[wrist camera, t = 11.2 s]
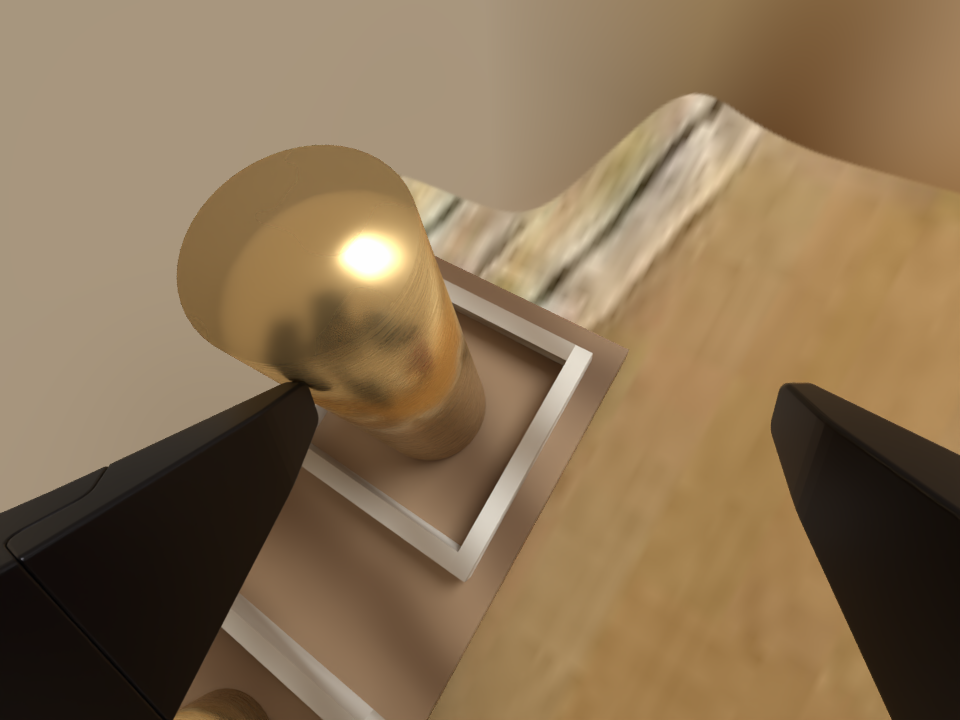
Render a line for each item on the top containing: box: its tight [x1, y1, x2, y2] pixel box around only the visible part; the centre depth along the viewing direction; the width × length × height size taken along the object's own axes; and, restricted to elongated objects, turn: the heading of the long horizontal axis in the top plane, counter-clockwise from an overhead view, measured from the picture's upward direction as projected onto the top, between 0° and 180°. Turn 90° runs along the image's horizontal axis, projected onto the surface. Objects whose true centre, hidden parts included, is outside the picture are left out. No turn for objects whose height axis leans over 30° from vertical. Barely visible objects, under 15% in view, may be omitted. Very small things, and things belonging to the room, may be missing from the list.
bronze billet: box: [177, 145, 486, 461], centre depth 15 cm, size 5×5×13 cm
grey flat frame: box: [179, 256, 629, 720], centre depth 21 cm, size 30×13×3 cm, turn 149°
